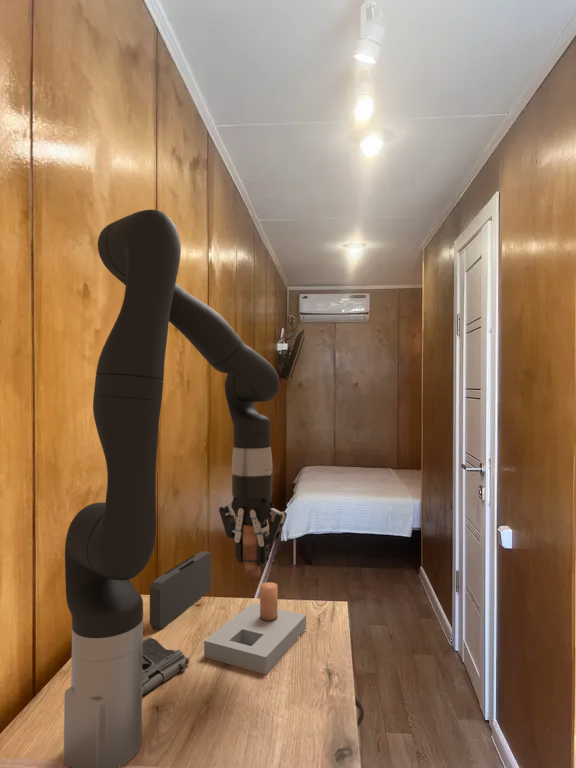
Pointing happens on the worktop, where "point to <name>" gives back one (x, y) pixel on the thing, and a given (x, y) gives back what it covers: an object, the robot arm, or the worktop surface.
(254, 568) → the cherry peg
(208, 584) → the handheld gaming console
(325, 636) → the worktop surface
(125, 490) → the robot arm
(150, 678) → the handgun
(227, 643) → the jig board
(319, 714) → the worktop surface
